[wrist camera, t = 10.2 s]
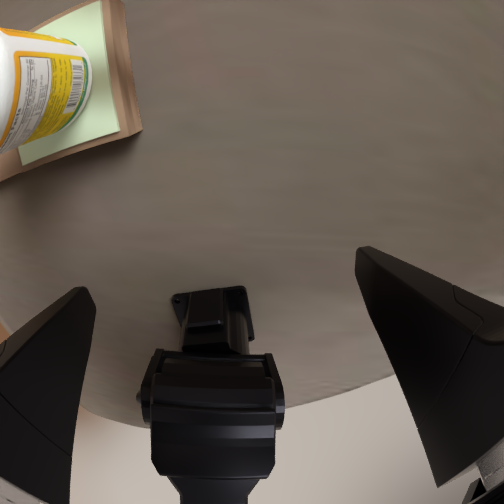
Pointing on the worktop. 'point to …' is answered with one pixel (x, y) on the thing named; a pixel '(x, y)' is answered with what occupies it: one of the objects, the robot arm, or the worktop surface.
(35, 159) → the step stand
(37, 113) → the supplement bottle
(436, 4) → the worktop surface
